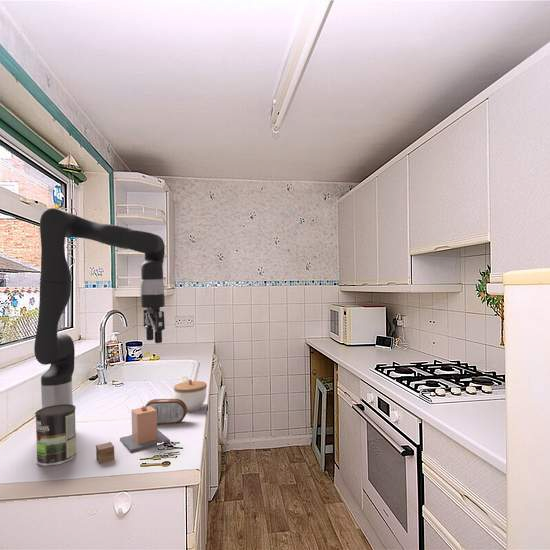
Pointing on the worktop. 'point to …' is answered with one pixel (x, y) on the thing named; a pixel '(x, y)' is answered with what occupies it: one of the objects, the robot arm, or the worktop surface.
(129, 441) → the plate
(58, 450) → the coffee can
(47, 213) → the robot arm
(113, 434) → the worktop surface
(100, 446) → the block
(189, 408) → the lidded bowl
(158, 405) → the tin
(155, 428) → the tan upright box
